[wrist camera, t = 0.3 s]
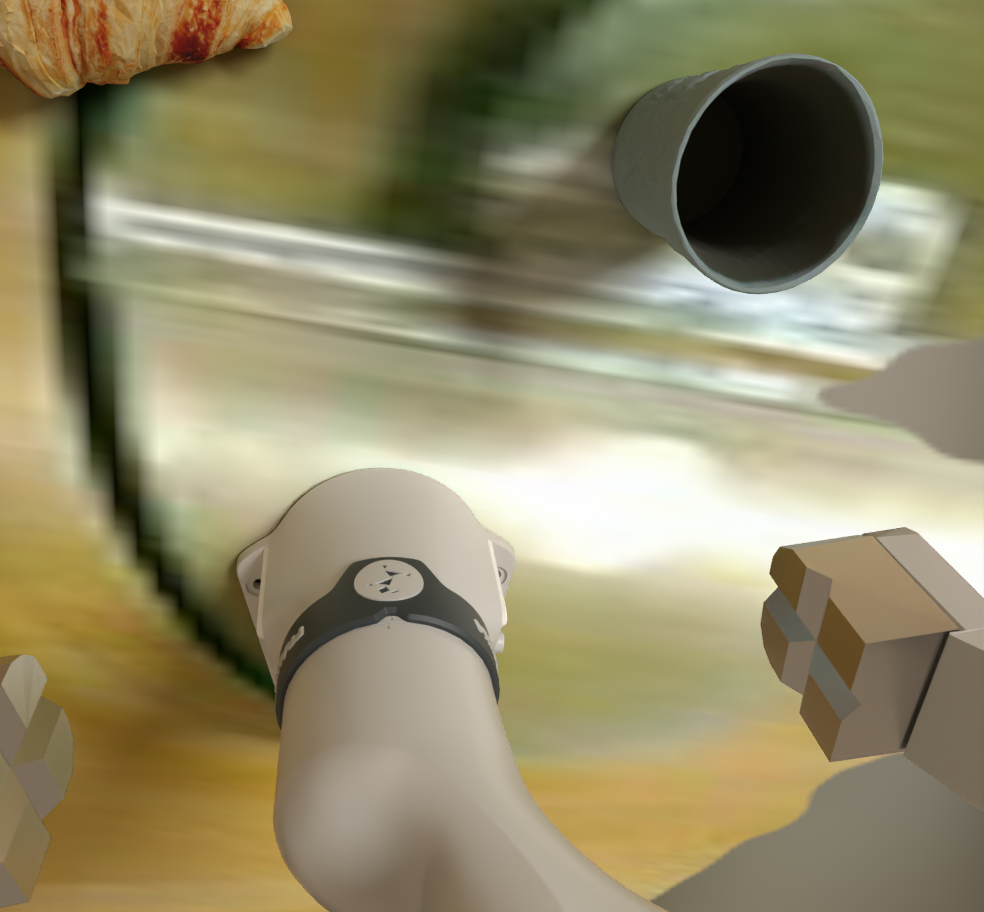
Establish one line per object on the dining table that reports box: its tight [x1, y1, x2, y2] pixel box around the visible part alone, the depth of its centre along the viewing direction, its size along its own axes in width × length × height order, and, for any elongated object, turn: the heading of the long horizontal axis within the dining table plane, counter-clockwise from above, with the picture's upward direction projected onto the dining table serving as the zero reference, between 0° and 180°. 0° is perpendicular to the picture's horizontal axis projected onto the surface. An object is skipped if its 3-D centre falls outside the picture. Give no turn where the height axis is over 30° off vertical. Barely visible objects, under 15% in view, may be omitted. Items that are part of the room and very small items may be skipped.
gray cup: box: [612, 53, 883, 294], centre depth 40 cm, size 10×10×12 cm
